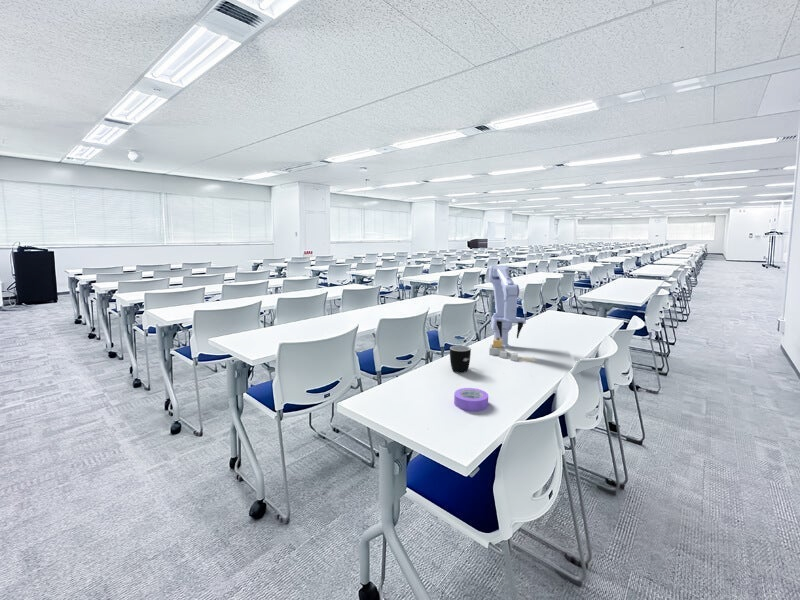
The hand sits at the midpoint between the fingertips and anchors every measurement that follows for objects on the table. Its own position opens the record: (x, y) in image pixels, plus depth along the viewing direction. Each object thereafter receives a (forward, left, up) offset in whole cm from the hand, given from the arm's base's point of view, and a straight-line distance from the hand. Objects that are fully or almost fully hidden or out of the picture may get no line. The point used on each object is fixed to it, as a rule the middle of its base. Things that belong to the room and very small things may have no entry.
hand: (509, 337), depth 184 cm
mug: (+26, -19, -10) cm, 34 cm away
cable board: (+4, +2, -9) cm, 10 cm away
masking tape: (+60, -11, -10) cm, 62 cm away
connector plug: (+1, -5, -8) cm, 10 cm away
